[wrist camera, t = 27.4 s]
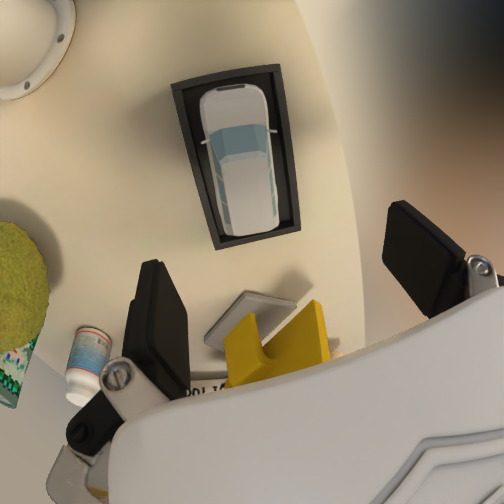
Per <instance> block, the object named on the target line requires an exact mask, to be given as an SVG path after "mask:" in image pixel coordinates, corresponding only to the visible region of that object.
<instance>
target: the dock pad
mask: <svg viewBox="0 0 504 504" xmlns="http://www.w3.org/2000/svg"><path fill="white" fill-rule="evenodd" d="M237 84H249V85H255V86H257V87H258V88H260V89H261V90H262V92H263V94H264V96H265V99H266V102H267V108H268V117H269V119H268V120H269V130H276V131H277V133H273V132H270V140H271V149H272V157H273V166H274V175H275V184H276V188H277V195H278V204H277V205H278V215H279V224H278V226H277V227H275V228H274V229H272V230H270V231H267V232H261V233H255V234H250V235H244V236H233V235H227V234H226V233H225V231H224V227H223V224H222V220H221V216H220V213H219V209H218V205H217V199H216V193H215V186H214V181H213V176H212V170H211V165H210V160H209V154H208V149H207V144H206V143H204V144H201V142H202V141H204V140H206V138H205V133H204V130H203V125H202V120H201V114H200V99H201V98H202V96H203V95H204V94H205V93H206V92H208V91H210V90H212V89H214V88H217V87H224V86H230V85H237ZM171 88H172V92H173V97H174V101H175V105H176V109H177V113H178V117H179V121H180V125H181V129H182V133H183V137H184V141H185V145H186V148H187V152H188V156H189V160H190V163H191V167H192V171H193V175H194V178H195V182H196V185H197V189H198V193H199V196H200V200H201V203H202V207H203V210H204V214H205V217H206V221H207V224H208V227H209V231H210V234H211V238H212V241H213V244H214V248H215V250H220V249H224V248H229V247H233V246H237V245H241V244H245V243H250V242H254V241H258V240H262V239H267V238H271V237H275V236H280V235H284V234H288V233H292V232H297V231H301V221H300V210H299V200H298V190H297V181H296V172H295V163H294V155H293V147H292V139H291V131H290V124H289V117H288V110H287V104H286V97H285V91H284V85H283V79H282V73H281V67H280V64H270V65H262V66H254V67H247V68H241V69H235V70H229V71H224V72H219V73H214V74H209V75H205V76H200V77H196V78H192V79H188V80H184V81H180V82H177V83H173V84H171Z"/></svg>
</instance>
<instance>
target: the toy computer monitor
mask: <svg viewBox="0 0 504 504" xmlns="http://www.w3.org/2000/svg"><path fill="white" fill-rule="evenodd" d="M296 308H297V306H296V303H295V302H293V301H288V300H282V299H277V298H272V297H268V296H263V295H258V294H253V293H248V292H244V293H243V294H242V296H241V297H240V298H239V299H238V300H237V301H236V303H235V304H234V305H233V306H232V307H231V308H230V309H229V311H228V312H227V313H226V314H225V315H224V316H223V317H222V318H221V320H220V321H219V322H218V323H217V324H216V325H215V326H214V328H213V329H212V330H211V331H210V332H209V333H208V334H207V335H206V337H205V338H204V344H206V345H208V346H210V347H212V348H214V349H216V350H218V351H220V352H222V353H225V355H226V363H227V370H228V377H227V378H226V383H225V387H224V389H228V388H232V387H237V386H241V385H245V384H249V383H254V382H258V381H262V380H266V379H270V378H274V377H277V376H281V375H285V374H288V373H292V372H295V371H299V370H302V369H305V368H308V367H312V366H315V365H318V364H321V363H324V362H327V361H330V360H331V358H330V351H329V345H328V339H327V333H326V327H325V322H324V316H323V311H322V305H321V304H319V303H318V302H317V301H315V300H312V301H311V302H310V303H309V304H308V305H307V306H306V307H304V308H303V309H302V310H301V311H300V312H299V313H298V314H297V315H296V316H295V317H294V318H293V319H292V320H291V321H290V322H289V323H288V324H287V325H286V326H285V327H284V328H283V329H282V330H280V331H279V332H278V333H277V334H276V335H275V336H274V337H273V338H272V339H271V340H270V341H269V342H267V343H266V344H265V345H264V346H263V347H262V344H261V341H262V340H263V339H264V338H265V337H266V336H267V335H269V334H270V333H271V332H272V331H273V330H274V329H275V328H276V327H277V326H278V325H279V324H280V323H281V322H282V321H283V320H284V319H285V318H286V317H287V316H288V315H289V314H290V313H291V312H292V311H294V310H295V309H296Z"/></svg>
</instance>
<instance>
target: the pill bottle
mask: <svg viewBox="0 0 504 504" xmlns="http://www.w3.org/2000/svg"><path fill="white" fill-rule="evenodd" d="M110 352H111V341H110V339H109V338H108V337H107V336H106V335H105V334H104V333H103V332H101V331H99V330H97V329H93V328H82V329H79V330H78V331H77V333H76V335H75V339H74V342H73V345H72V349H71V353H70V356H69V360H68V364H67V368H66V372H65V379H66V382H67V383H68V385H69V386H68V387H67V389H66V398H67V399H68V400H69V401H70V402H72V403H73V404H76V405H77V406H80V407H84V406H85V405H86V404H87V403H88V402H89V401H90V400H91V399H92V398H93V397H94V396H95V395H96V394H97V393H98V391H99V390H100V389H101V388H100V385H99V375H100V372H101V370H102V368H103V366H104V365H105V364H106V363H107V362H108V361H109V357H110Z"/></svg>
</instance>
